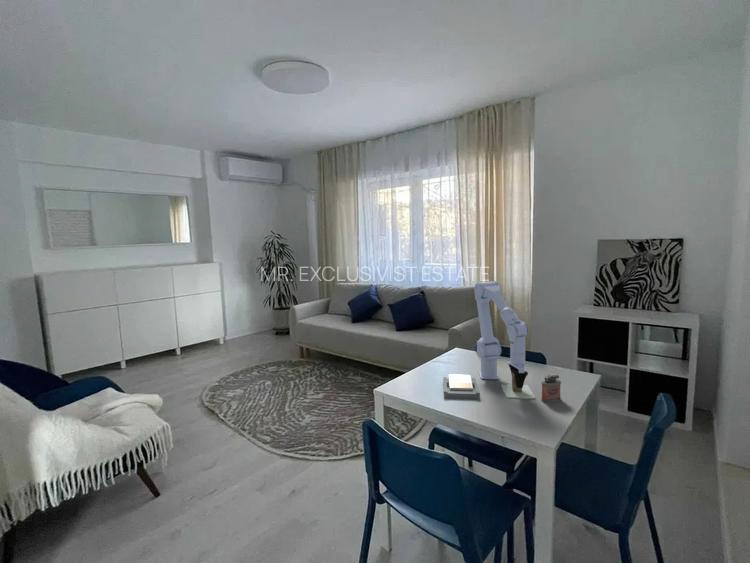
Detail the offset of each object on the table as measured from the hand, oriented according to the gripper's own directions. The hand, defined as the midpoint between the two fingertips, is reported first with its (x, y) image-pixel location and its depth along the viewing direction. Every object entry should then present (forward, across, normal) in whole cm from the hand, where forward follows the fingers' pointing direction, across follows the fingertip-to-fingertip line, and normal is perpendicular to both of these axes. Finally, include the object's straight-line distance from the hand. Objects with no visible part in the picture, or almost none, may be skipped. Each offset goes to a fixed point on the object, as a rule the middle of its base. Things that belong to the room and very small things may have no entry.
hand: (517, 384), depth 151 cm
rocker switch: (0, 0, -23) cm, 23 cm away
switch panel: (+3, 0, -23) cm, 23 cm away
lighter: (+4, +7, +11) cm, 14 cm away
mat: (+3, 0, 0) cm, 3 cm away
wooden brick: (+3, 0, 0) cm, 3 cm away
